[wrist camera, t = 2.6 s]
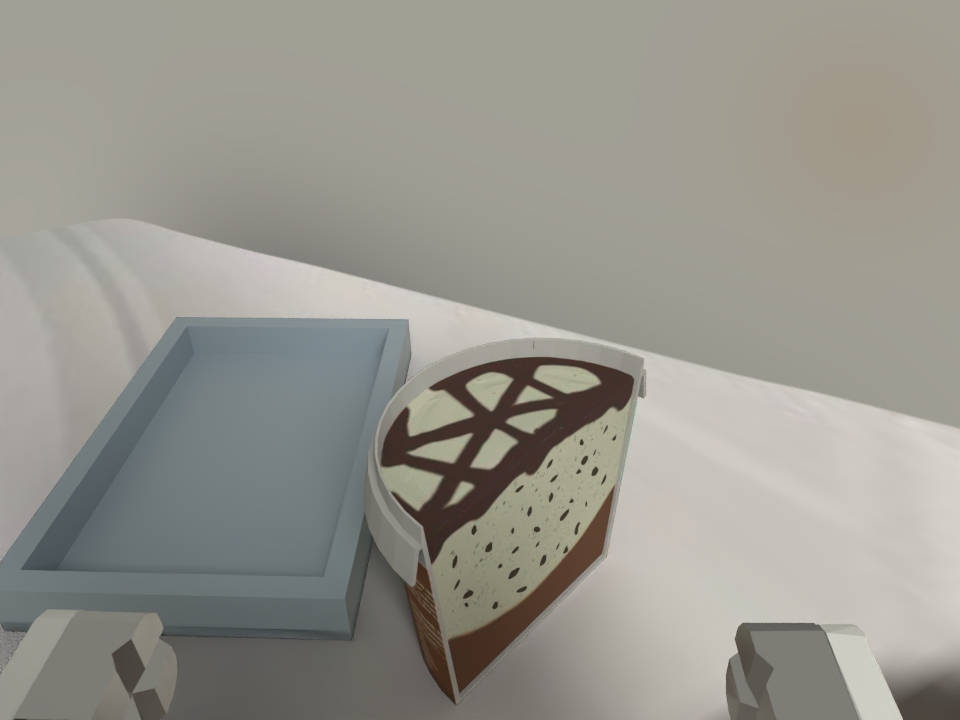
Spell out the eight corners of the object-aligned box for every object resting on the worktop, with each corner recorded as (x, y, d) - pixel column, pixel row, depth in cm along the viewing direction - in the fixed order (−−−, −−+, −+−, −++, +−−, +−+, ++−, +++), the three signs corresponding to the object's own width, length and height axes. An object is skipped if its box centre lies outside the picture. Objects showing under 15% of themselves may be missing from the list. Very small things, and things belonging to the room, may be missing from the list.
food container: (521, 473, 37) (526, 297, 31) (626, 537, 34) (652, 352, 28) (319, 632, 30) (277, 440, 24) (426, 735, 26) (406, 538, 21)
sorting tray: (4, 630, 30) (-20, 590, 28) (186, 351, 46) (176, 317, 45) (351, 640, 29) (344, 599, 28) (411, 354, 46) (408, 319, 44)
